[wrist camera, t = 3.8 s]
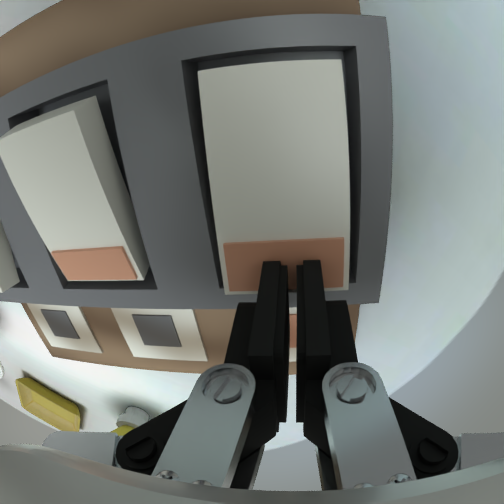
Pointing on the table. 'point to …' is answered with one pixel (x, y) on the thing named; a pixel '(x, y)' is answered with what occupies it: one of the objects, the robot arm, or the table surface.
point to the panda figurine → (1, 371)
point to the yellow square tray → (48, 405)
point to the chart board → (86, 44)
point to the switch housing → (202, 155)
